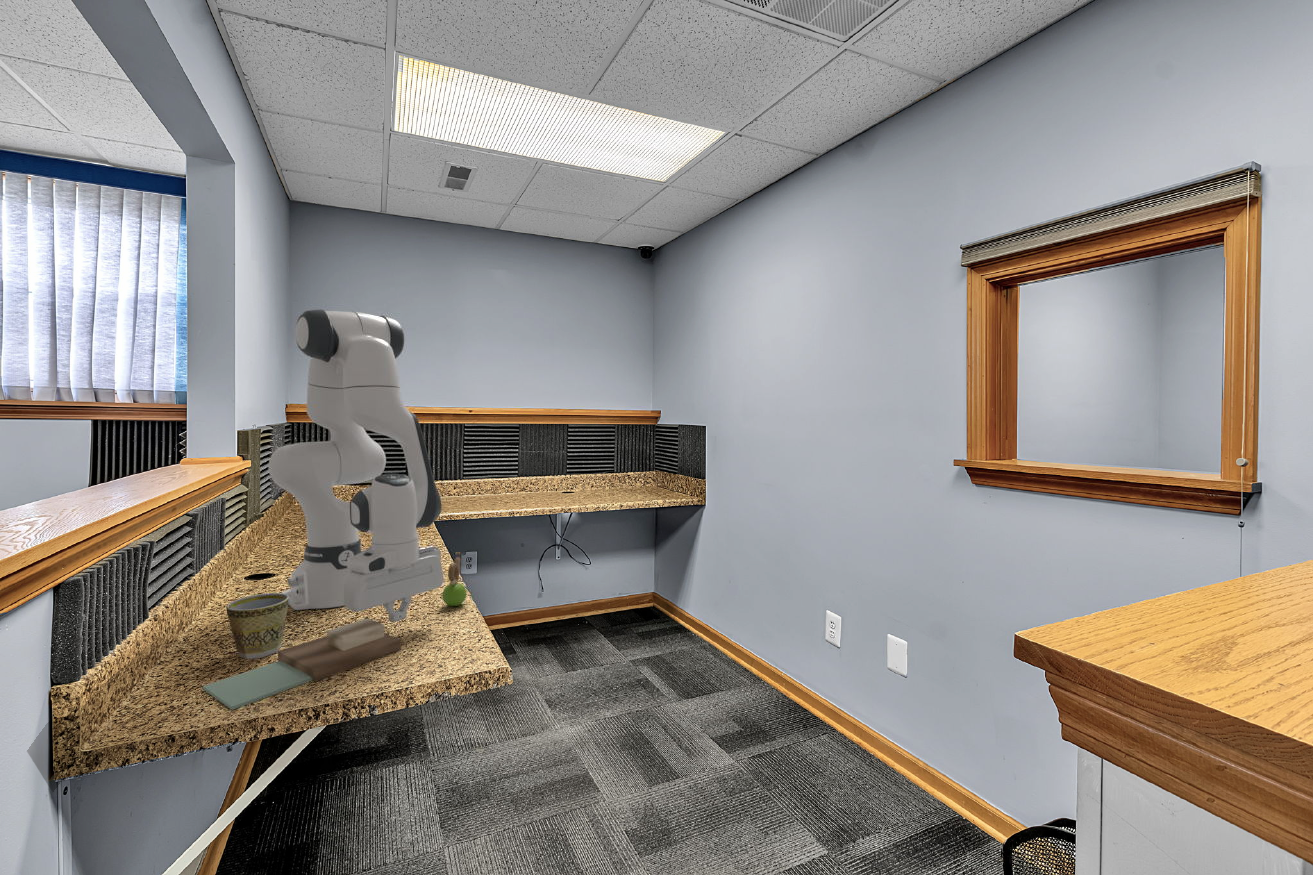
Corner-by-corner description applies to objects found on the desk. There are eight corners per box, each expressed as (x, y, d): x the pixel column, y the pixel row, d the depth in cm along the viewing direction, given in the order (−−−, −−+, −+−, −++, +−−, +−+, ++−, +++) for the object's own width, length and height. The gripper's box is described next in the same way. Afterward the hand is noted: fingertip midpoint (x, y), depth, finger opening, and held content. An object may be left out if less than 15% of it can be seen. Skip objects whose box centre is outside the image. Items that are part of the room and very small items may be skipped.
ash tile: (327, 643, 113) (326, 630, 113) (368, 630, 119) (367, 618, 119) (343, 650, 109) (343, 637, 109) (384, 636, 116) (384, 624, 116)
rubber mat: (202, 689, 99) (202, 686, 99) (280, 663, 109) (280, 660, 109) (231, 709, 92) (231, 706, 92) (312, 680, 102) (312, 677, 102)
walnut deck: (278, 661, 109) (277, 651, 109) (362, 633, 123) (362, 624, 122) (315, 681, 101) (314, 670, 101) (401, 649, 115) (400, 639, 114)
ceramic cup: (281, 659, 111) (279, 607, 110) (219, 666, 108) (216, 612, 107) (301, 633, 123) (299, 586, 122) (246, 639, 120) (244, 591, 120)
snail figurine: (470, 600, 143) (469, 551, 143) (463, 609, 137) (461, 558, 136) (448, 600, 143) (447, 552, 142) (439, 609, 137) (438, 558, 136)
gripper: (431, 541, 131) (432, 602, 132) (338, 562, 114) (340, 632, 115) (448, 545, 127) (450, 608, 128) (355, 567, 111) (357, 639, 111)
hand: (397, 619), depth 121 cm, fingers closed
